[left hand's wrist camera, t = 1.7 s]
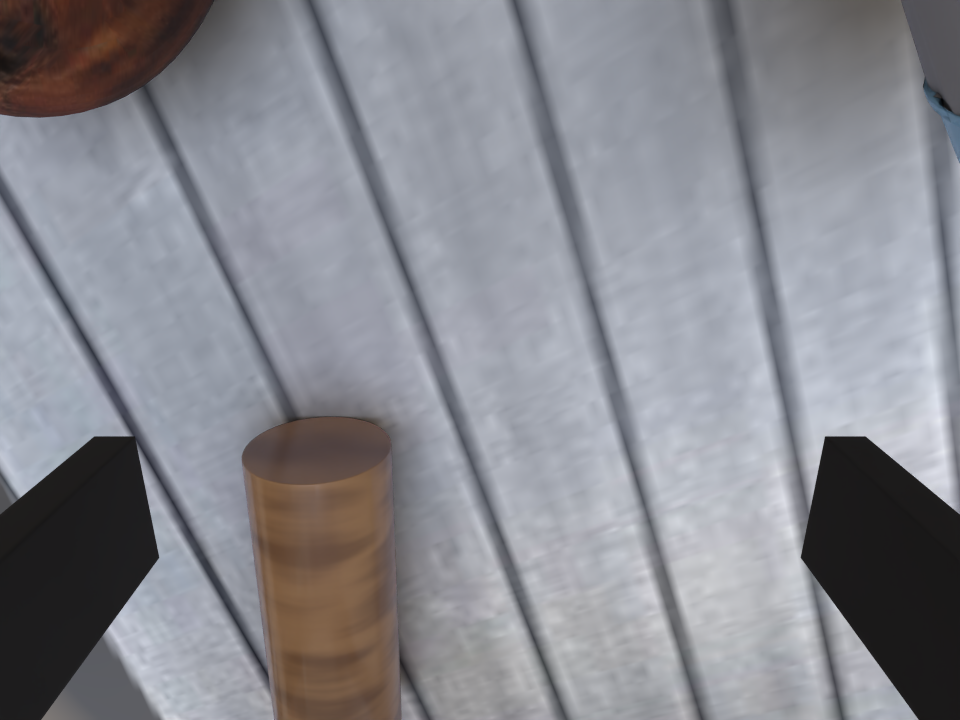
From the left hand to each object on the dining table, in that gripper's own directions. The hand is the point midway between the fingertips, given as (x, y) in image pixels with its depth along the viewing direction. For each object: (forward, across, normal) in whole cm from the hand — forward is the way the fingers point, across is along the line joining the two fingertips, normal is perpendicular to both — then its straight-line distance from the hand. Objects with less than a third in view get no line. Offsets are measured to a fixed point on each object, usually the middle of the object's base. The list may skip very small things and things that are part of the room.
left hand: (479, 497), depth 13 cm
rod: (+29, -10, -24) cm, 39 cm away
